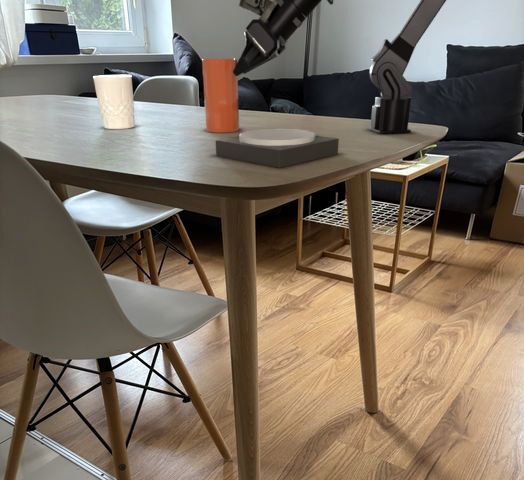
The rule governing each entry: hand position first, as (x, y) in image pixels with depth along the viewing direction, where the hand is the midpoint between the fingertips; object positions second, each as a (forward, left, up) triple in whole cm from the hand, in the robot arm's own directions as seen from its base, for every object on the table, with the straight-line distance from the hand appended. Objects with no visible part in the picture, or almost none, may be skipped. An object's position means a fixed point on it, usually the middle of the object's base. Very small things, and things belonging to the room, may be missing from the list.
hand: (238, 73), depth 101 cm
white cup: (+26, -11, -11) cm, 30 cm away
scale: (-2, +29, -11) cm, 31 cm away
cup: (+4, -1, -11) cm, 11 cm away
